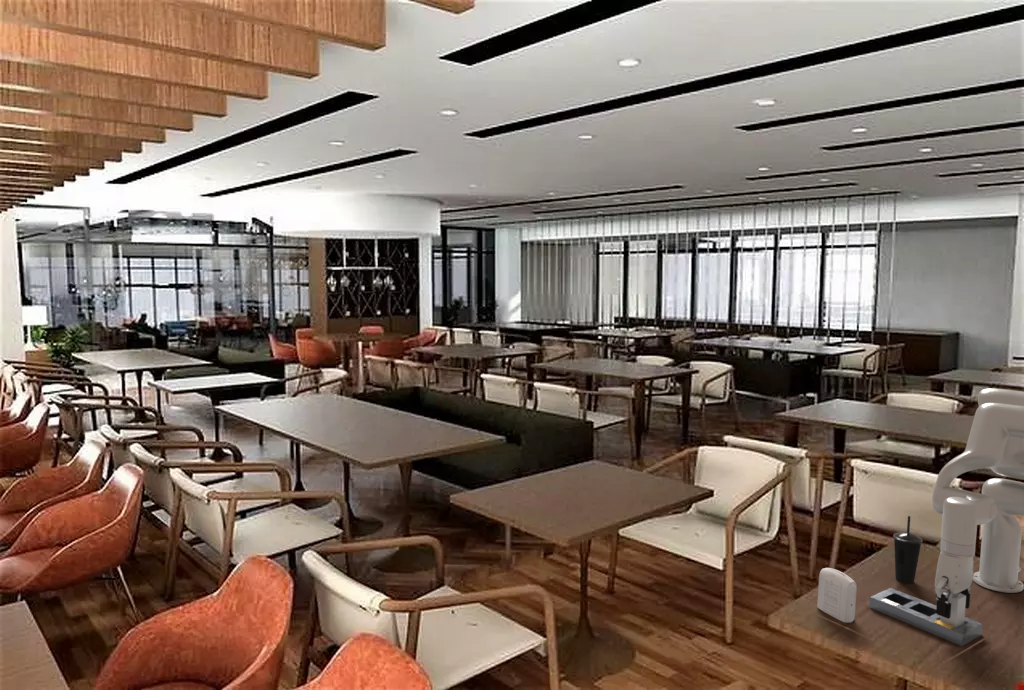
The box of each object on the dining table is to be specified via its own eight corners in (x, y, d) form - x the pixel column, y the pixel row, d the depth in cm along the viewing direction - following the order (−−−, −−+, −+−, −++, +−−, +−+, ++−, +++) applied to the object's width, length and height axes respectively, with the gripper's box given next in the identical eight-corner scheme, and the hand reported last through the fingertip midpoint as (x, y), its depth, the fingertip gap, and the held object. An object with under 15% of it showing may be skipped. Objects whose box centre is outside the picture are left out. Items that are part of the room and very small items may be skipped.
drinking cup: (923, 587, 213) (927, 522, 210) (894, 585, 214) (899, 520, 212) (914, 576, 220) (918, 512, 218) (887, 574, 222) (891, 511, 219)
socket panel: (889, 599, 206) (890, 587, 205) (981, 636, 186) (982, 622, 186) (869, 608, 201) (870, 596, 200) (961, 647, 181) (962, 633, 180)
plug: (947, 626, 190) (950, 586, 189) (963, 632, 187) (966, 592, 185) (939, 630, 188) (941, 590, 187) (955, 637, 185) (958, 596, 183)
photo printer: (857, 621, 193) (859, 577, 192) (845, 625, 192) (848, 580, 190) (825, 605, 203) (828, 562, 201) (814, 608, 201) (816, 565, 199)
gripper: (959, 534, 192) (954, 596, 194) (924, 549, 183) (919, 614, 185) (990, 544, 186) (985, 608, 188) (955, 559, 177) (950, 626, 179)
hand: (952, 611), depth 187 cm, fingers open, 9 cm apart
